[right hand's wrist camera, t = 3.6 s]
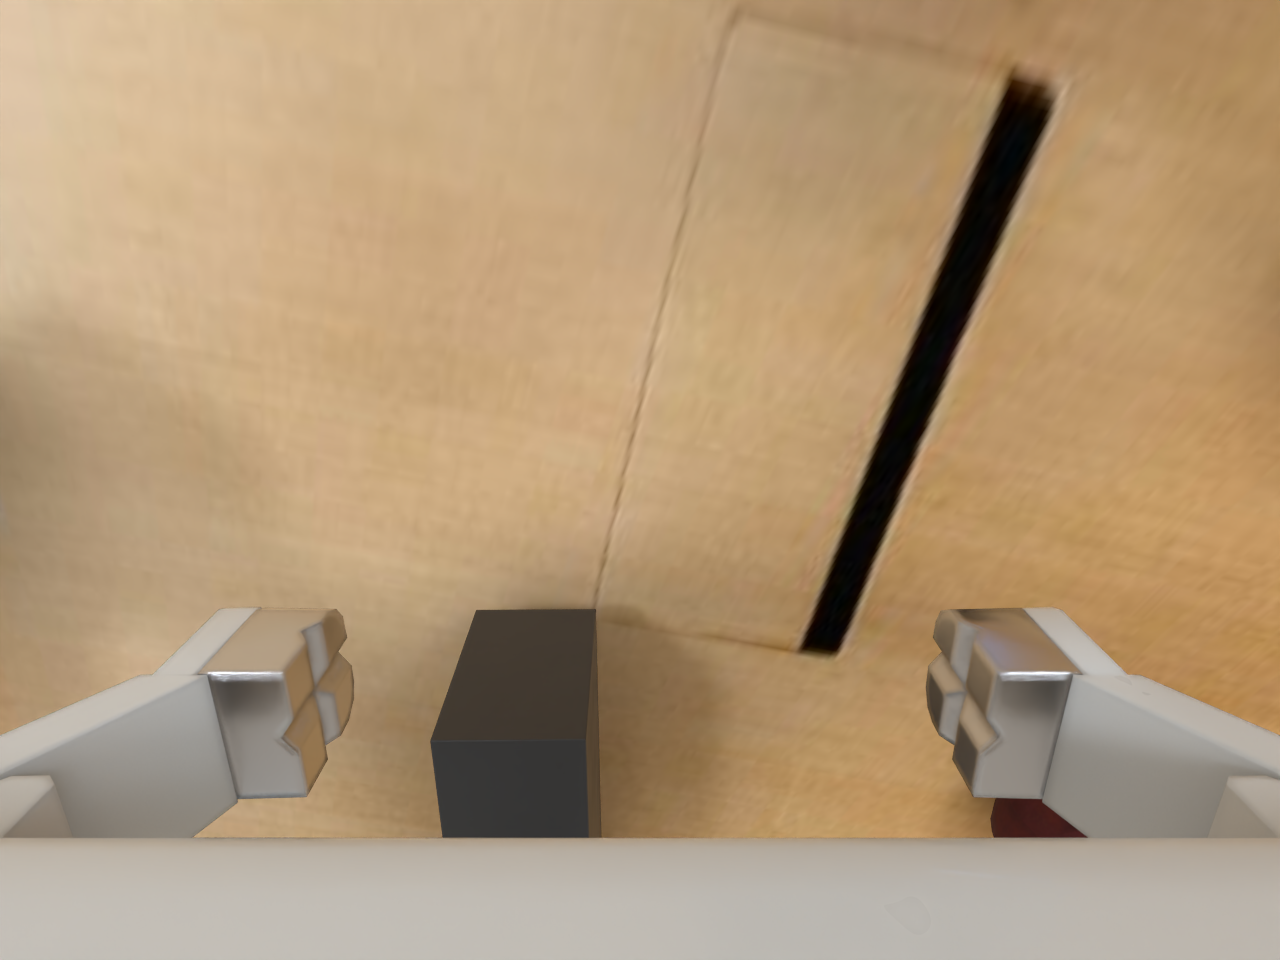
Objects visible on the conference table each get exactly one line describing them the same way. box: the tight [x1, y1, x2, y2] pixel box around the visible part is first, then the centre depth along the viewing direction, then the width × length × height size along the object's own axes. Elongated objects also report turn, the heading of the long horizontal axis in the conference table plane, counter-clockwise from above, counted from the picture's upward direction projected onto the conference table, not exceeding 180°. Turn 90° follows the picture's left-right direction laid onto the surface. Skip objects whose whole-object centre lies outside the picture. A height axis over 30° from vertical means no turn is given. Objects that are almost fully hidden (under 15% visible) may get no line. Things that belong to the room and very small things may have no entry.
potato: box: [991, 798, 1088, 838], centre depth 46 cm, size 7×8×7 cm
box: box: [430, 609, 601, 838], centre depth 41 cm, size 25×6×10 cm, turn 0°
